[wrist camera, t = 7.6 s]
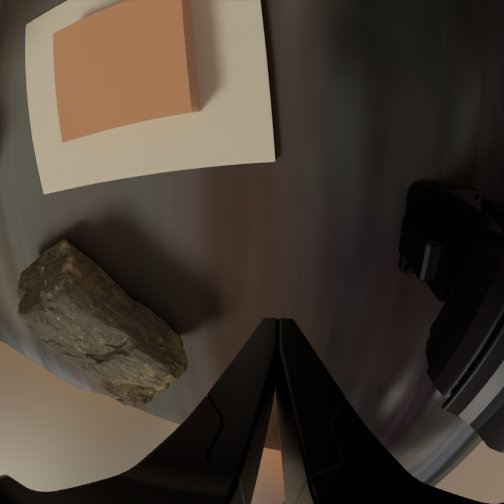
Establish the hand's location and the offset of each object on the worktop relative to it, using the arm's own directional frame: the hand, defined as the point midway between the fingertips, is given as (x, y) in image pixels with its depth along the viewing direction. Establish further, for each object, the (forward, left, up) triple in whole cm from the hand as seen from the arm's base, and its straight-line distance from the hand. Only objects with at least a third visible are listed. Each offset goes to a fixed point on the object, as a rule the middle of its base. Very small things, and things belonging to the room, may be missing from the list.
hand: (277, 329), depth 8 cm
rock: (+15, +7, -12) cm, 21 cm away
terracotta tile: (+4, -10, -10) cm, 15 cm away
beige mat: (+9, -10, -12) cm, 18 cm away
